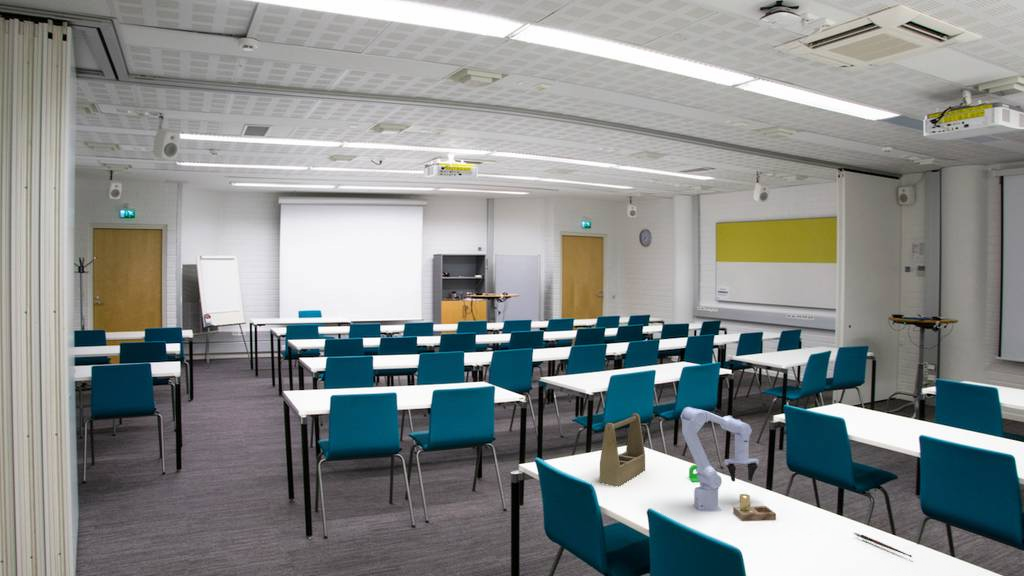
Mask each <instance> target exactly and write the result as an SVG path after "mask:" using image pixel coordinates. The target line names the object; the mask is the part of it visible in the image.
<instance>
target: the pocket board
mask: <svg viewBox="0 0 1024 576" xmlns="http://www.w3.org/2000/svg"><path fill="white" fill-rule="evenodd" d="M732 508H733V509H732V510H733V511H732V512H733V513H732V514H734V515H735V516H737V518H738V519H739V520H741V521H742V522H743V521H745V522H747V521H748V522H749V521H750V522H751V521H776V520H777V516H776V515H777V513H776V512H774V511H773V509H770V508H769V507H767V506H766V505H763V506H762V505H761V506H758V505H757V506H753V505H752V506H750V511H749V512H743V511H740V506H733V507H732Z"/></svg>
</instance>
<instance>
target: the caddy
mask: <svg viewBox="0 0 1024 576" xmlns="http://www.w3.org/2000/svg"><path fill="white" fill-rule="evenodd" d="M628 424H629V428H628V433H627V434H628V435H627V441H626V448H625V451H624V452H622V453H619V450H618V449H619V448H618V443H617V437H616V431H615V430H616V429H619V428H621V427H624V426H626V425H628ZM643 438H644V437H643V432H642V424H641V417H640V415H639V414H638V413H632V414H631V416H630V417H628V418H626V419H624V420H621V421H617V422H616V423H612V422H607V423H606V424H605V425H604V432H603V438H602V439H603V440H602V444H601V445H602V446H601V452H600V453H601V454H600V461H599V483H600V484H602V483H604V484H603V485H606V484H608V485H607V486H611V485H613V486H612V487H616V486H618V487H617V488H620V487H621V485H622V486H623V485H625V484H626V483H628V482H629V480H630V481H631V480H633V479H635V478H637V477H638V476H639V475H641V474H643V473H644V472H645V471H646V453H645V451H646V450H645V446H644V439H643ZM643 471H644V472H643ZM642 472H643V473H642ZM640 473H641V474H640ZM637 475H638V476H637ZM634 477H635V478H634ZM632 478H633V479H632ZM627 481H628V482H627ZM624 483H625V484H624ZM619 486H620V487H619Z"/></svg>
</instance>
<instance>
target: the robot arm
mask: <svg viewBox="0 0 1024 576" xmlns="http://www.w3.org/2000/svg"><path fill="white" fill-rule="evenodd" d="M680 419H681V433H682V435H683V438H684V440H685V442H686V445H687V447H688V449H689V451H690V454H691V455H692V458H693V460H694V463H695V465H697V467H698V468H697V469H695V472H696V473H697V479H698V481H699V482H698V483H699V486H697V487H695V488H694V491H693V492H694V494H693V496H694V501H693V502H694V503H693V506H695V508H697V510H699V512H706V511H708V512H709V511H711V512H712V511H713V512H714V511H722V510H723V509H722V508H721V507H720V506H719V489H720V487H721V485H722V476H720V475H719V474H718V473H717V471H716V470H715V469H714V467H713V466H712V465H711V462H710V461H709V459H708V456H707V454H706V452H705V450H704V448H703V445H702V442H701V441H700V439H699V436H698V432H699V431H700V430H701V429H702V427H703V426H704V424H705V423H708V422H712V423H715V424H719V425H720V427H721V429H722V430H726V431H727V432H729V433H733V434H734V458H727V459H726V458H725V459H724V465H726V468H727V469H728V472H729V474H730V480H731V481H732V482H735V481H736V468H737V467H736V465H747V473H748V474H747V478H748V479H747V480H748V481H750V482H752V481H753V477H754V474H755V471H756V470H757V469H758V465H759V464H760V463H759V461H760V460H759V459H758V458H749V456H750V454H749V453H750V452H749V450H750V449H749V446H750V445H749V442H750V435H751V434H752V431H753V429H752V427H751V425H750V424H748V423H746V422H743V421H741V419H739V418H738V419H736V418H733V416H732V415H725V416H723V417H722V416H720V415H717V414H715V413H712V412H710V411H707V410H703V409H700V408H699V409H698V408H694V407H691V406H687V407H684V408H683V410H682V412H681V414H680Z"/></svg>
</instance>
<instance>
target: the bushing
mask: <svg viewBox="0 0 1024 576" xmlns="http://www.w3.org/2000/svg"><path fill="white" fill-rule="evenodd" d="M739 507H740V511H743V512H749V511H750V507H751V496H750V494H746V493H745V494H744V493H741V494H739Z"/></svg>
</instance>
